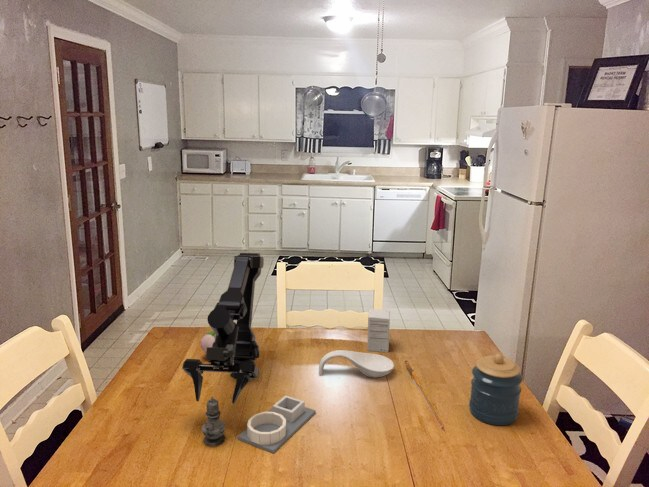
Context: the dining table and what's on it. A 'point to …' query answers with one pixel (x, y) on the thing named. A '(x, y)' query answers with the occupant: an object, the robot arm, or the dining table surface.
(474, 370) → the canister
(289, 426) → the socket board
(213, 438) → the dark grey tiered column
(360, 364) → the spoon rest
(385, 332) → the supplement box
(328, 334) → the dining table surface
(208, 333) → the decorative fruit
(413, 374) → the katana
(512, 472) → the dining table surface
